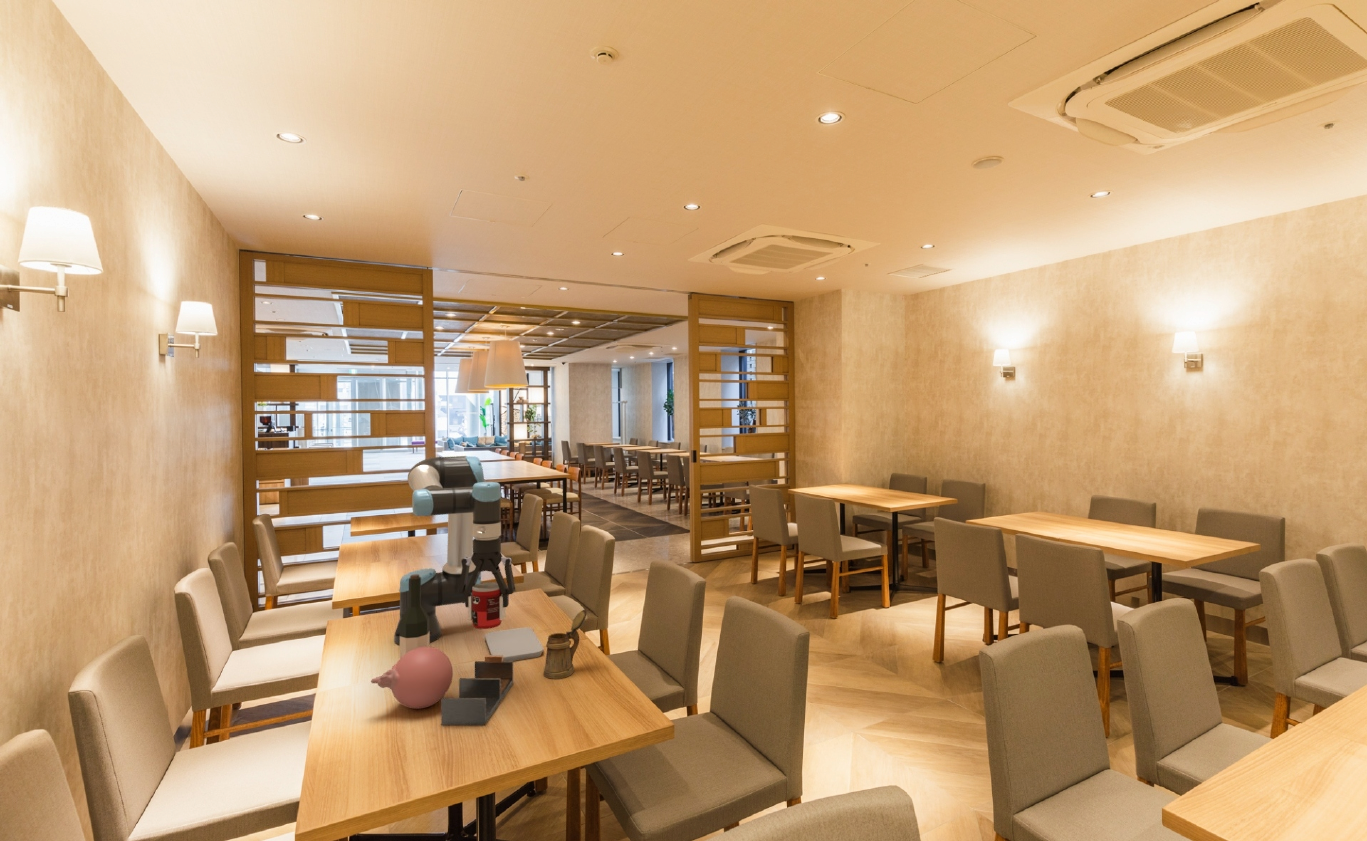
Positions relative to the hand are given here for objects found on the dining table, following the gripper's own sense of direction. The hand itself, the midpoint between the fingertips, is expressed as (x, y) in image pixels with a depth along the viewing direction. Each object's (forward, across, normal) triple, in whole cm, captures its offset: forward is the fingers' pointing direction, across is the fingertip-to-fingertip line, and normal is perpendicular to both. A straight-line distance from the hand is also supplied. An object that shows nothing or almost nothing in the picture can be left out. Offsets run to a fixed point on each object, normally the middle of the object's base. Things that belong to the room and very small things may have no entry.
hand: (487, 618), depth 172 cm
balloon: (+21, -17, -9) cm, 28 cm away
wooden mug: (+21, +19, +15) cm, 32 cm away
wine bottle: (+21, -26, +12) cm, 36 cm away
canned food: (+2, 0, 0) cm, 2 cm away
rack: (+21, 0, -6) cm, 22 cm away
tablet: (+22, -3, +35) cm, 41 cm away
